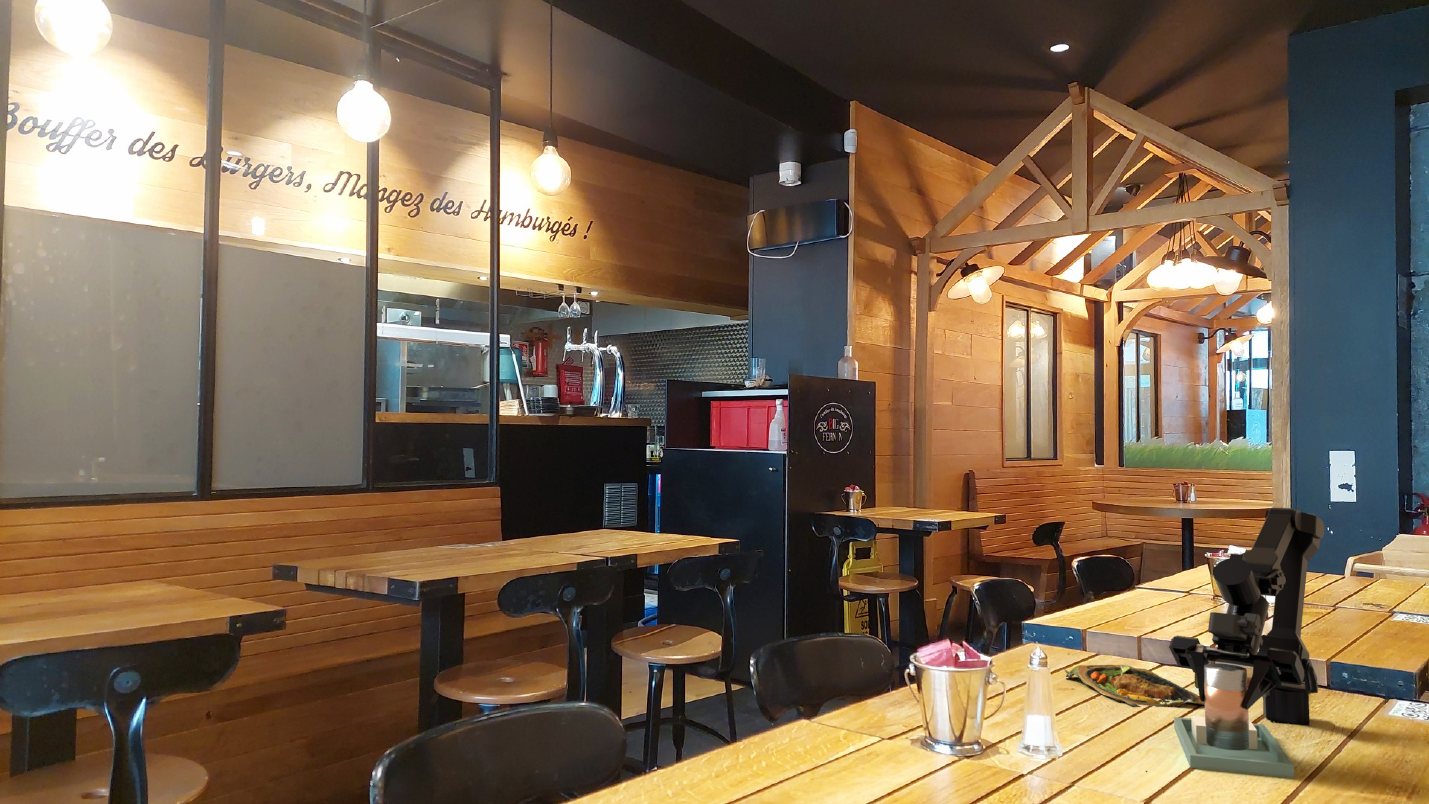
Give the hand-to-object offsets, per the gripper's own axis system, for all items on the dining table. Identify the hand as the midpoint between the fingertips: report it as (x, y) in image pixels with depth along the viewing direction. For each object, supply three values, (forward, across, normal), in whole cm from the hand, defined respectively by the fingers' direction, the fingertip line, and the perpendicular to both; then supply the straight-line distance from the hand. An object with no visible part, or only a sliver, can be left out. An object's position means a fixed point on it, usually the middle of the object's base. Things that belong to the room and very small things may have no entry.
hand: (1223, 703), depth 151 cm
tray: (+2, -1, +11) cm, 11 cm away
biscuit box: (-1, -4, +14) cm, 15 cm away
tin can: (+4, 0, +6) cm, 7 cm away
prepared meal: (-18, -29, +33) cm, 48 cm away
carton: (-30, -14, +45) cm, 56 cm away
